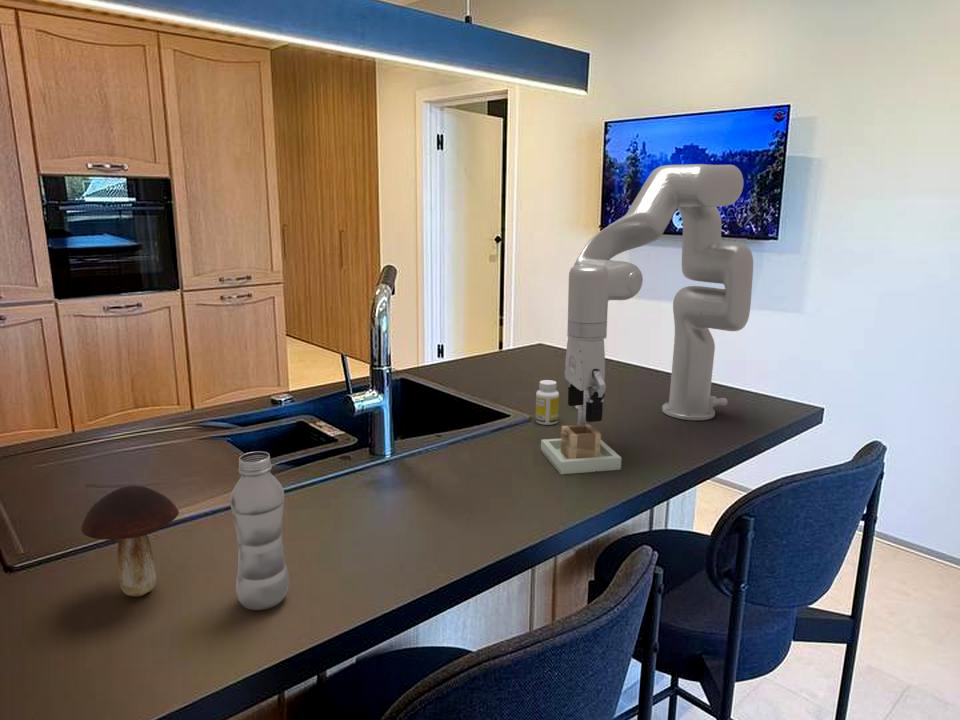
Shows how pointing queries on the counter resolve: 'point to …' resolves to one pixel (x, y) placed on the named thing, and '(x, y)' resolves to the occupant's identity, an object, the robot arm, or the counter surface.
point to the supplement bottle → (547, 403)
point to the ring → (580, 441)
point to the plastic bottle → (259, 533)
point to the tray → (580, 459)
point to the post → (582, 412)
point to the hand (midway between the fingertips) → (584, 412)
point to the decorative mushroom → (131, 531)
